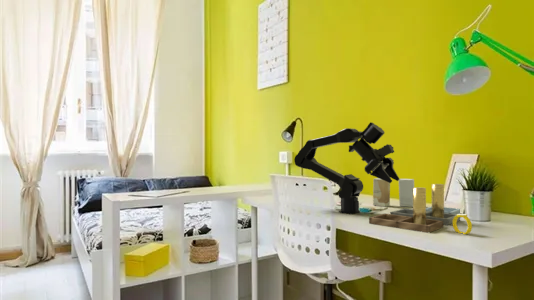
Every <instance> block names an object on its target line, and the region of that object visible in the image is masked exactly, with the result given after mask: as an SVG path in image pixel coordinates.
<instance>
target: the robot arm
mask: <svg viewBox="0 0 534 300" xmlns="http://www.w3.org/2000/svg"><path fill="white" fill-rule="evenodd" d="M384 135H385V130H383V128H382V127H380V126H378V125H377V124H375V123H374V122H371V121H370V122H369V123H368V125H367V126H366V127H365V128H364V129H363V130H362V131H359V130H358V129H357V128H352V127H350V128H348V127H347V128H344V129H342V130H340V131H338V132H336V133H334V134H331V135H327V136H323V137H318V138H314V139H309V140H307V141H306V142H305V144H304V145H303V146H302V147H301V149H299V151H298V153H297V154H296V155H295V156H294V165H295V166H296V167H298V168H301V169H306V170H310V171H312V172H314V173H315V174H318V175H320V176H322V177H323V178H325V179H327V180H329V181H330V182H333V183H335V184H337V186H338V187H339V188H340V190H339V191H338V192H337V195H338V197H339V198H340V210H338V213H344V214H350V215H351V214H357V213H360V212H361V210H360V202H359V196H360V193H361V192H362V191H363V190H364V184H363V181H362V180H361V178H360V177H357V176H355V175H353V174H345V175H344V174H341V173H339V172H337V171H335V170H333V169H331V168H330V167H327V166H326V165H324V164H322V163H320V162H319V161H317V159H316V157H315V155H316V152H317V149H318V148H322V147H326V146H331V145H336V144H341V143H342V144H343V143H344V144H346V143H348V144H349V143H353V144H351V145H348V152H349V153H353V152H354V151H355V152H356V153H357V155H359V157H360V158H361V161H362V162H365V163H366V165H365V166H364V172H365V173H366V174H367V175H370V176H372V177H374V178H375V177H376V178H380V179H382V180H384V181H386V182H389V183H390V184H391V183H392V182H393V180H395V181H396V182H399V179H400V178H399V175H398V174H397V172H396V171H395V168H394V164H395V162H394V159H393V158H391V157H386V156H389V155H390V154H393V153H395V150H394V146H392V144H388V143H387V144H386V145H383V146H382V147H379V148H378V149H377V148H374V147H373V146H371V145H372V144H376V143H377V142H378V141H379V140H380V139H381V138H382V137H383V136H384Z"/></svg>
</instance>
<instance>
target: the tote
mask: <svg viewBox="0 0 534 300" xmlns="http://www.w3.org/2000/svg"><path fill="white" fill-rule="evenodd" d="M460 209H461V208H457V209H456V207H446V206H444V213H448V214H456V215H457V214H460ZM426 211H430V212H432V206H428V207H426Z"/></svg>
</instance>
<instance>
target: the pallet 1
mask: <svg viewBox="0 0 534 300" xmlns="http://www.w3.org/2000/svg"><path fill="white" fill-rule="evenodd" d="M368 223H369V224H371V225H377V226H383V227H390V228H397V229H402V230H410V231H417V232H421V231H422V233H428V232H430V233H432V232H435V231H437V230H440V229H442V228H444V225H443V221H439V220H431V219H426V225H422V224H415V223H413V217H408V216H400V215H393V214H390V213H381V214H378V215H374V216H370V217H369V218H368Z"/></svg>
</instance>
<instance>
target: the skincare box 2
mask: <svg viewBox="0 0 534 300" xmlns="http://www.w3.org/2000/svg"><path fill="white" fill-rule="evenodd" d="M413 188H415V179H414V178H399V180H398V193H399V194H398V197H399V199H398V200H399V201H398V202H399V207H408V208H410V207H411V208H413Z"/></svg>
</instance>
